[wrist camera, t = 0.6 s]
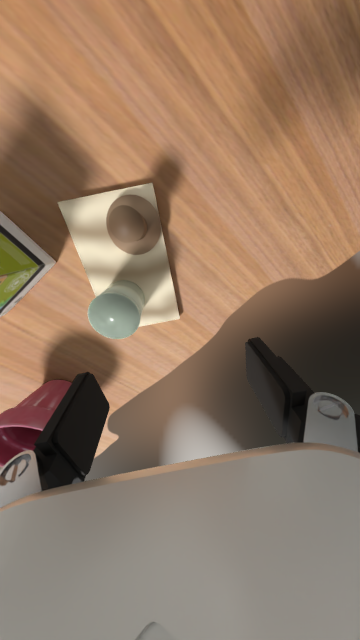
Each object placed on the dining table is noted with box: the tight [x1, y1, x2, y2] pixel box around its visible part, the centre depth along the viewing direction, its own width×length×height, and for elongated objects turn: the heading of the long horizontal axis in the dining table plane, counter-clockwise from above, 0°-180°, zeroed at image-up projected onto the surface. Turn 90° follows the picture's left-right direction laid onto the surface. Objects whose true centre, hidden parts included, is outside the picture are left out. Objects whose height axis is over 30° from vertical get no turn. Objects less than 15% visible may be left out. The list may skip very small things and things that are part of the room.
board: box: [57, 183, 180, 327], centre depth 31 cm, size 22×14×1 cm, turn 10°
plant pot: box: [0, 380, 72, 467], centre depth 37 cm, size 14×14×13 cm
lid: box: [106, 194, 161, 255], centre depth 25 cm, size 8×8×7 cm
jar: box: [88, 280, 145, 339], centre depth 29 cm, size 7×7×8 cm
